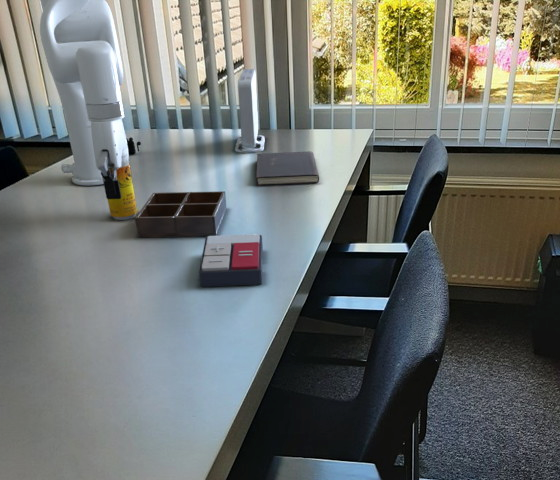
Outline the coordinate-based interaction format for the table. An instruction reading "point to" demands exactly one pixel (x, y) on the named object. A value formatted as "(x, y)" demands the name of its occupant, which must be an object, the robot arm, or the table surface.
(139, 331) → the table surface
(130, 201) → the beer can
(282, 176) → the hardcover book
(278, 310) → the table surface
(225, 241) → the calculator
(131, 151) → the wireless earbuds
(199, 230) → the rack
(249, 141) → the network device
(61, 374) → the table surface
